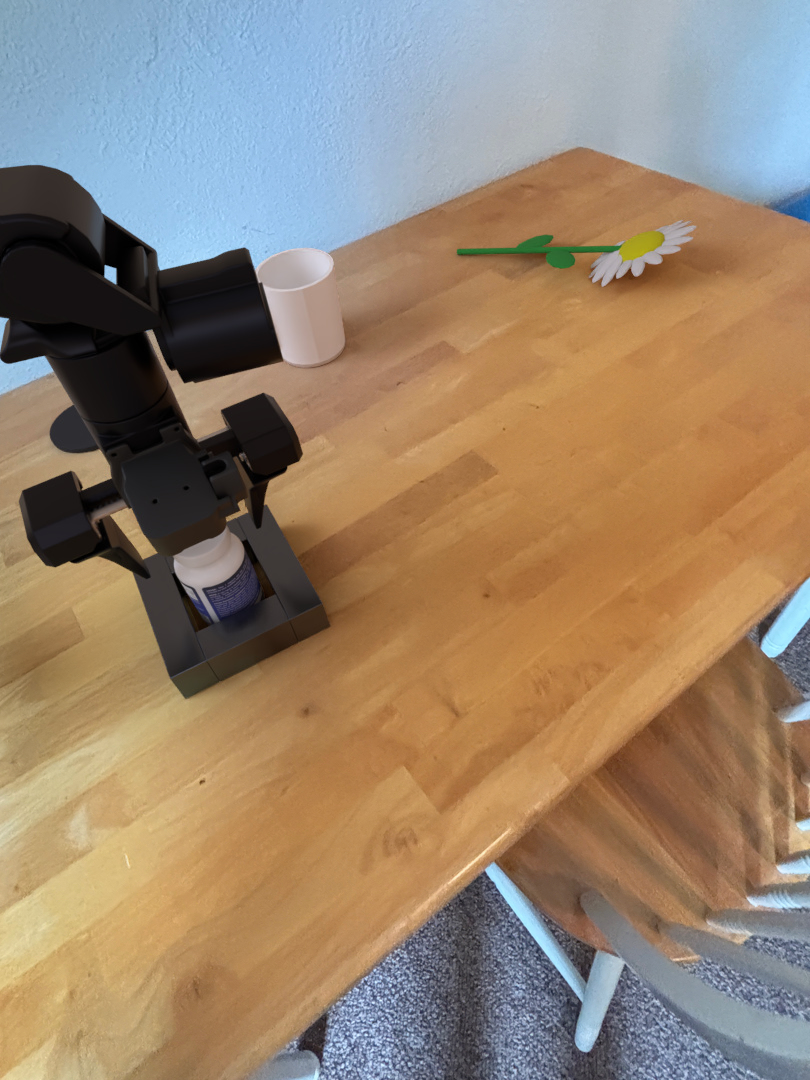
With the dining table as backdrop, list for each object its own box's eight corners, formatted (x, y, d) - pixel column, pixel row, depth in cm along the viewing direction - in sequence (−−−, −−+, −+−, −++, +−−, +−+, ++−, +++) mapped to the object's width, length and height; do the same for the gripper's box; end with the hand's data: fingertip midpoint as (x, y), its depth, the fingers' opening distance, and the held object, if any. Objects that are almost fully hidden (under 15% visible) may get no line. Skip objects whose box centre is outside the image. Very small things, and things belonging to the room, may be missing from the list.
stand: (185, 699, 57) (169, 678, 54) (145, 588, 65) (129, 564, 62) (331, 626, 60) (323, 603, 57) (275, 528, 68) (266, 503, 65)
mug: (327, 317, 89) (310, 239, 81) (363, 349, 84) (348, 269, 76) (249, 352, 86) (223, 275, 78) (281, 388, 81) (257, 309, 73)
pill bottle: (273, 580, 64) (241, 506, 56) (258, 635, 60) (222, 564, 52) (212, 579, 64) (173, 506, 57) (194, 633, 61) (149, 563, 53)
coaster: (59, 464, 77) (56, 460, 76) (45, 419, 82) (43, 415, 82) (139, 432, 79) (137, 428, 78) (120, 390, 84) (118, 386, 84)
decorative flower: (443, 295, 94) (683, 297, 81) (437, 259, 90) (686, 256, 77) (477, 251, 101) (701, 247, 88) (472, 216, 98) (705, 207, 85)
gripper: (-15, 541, 37) (111, 683, 49) (309, 405, 41) (352, 567, 53) (-36, 423, 44) (79, 574, 56) (245, 317, 48) (296, 478, 60)
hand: (203, 549), depth 56 cm, fingers open, 9 cm apart
